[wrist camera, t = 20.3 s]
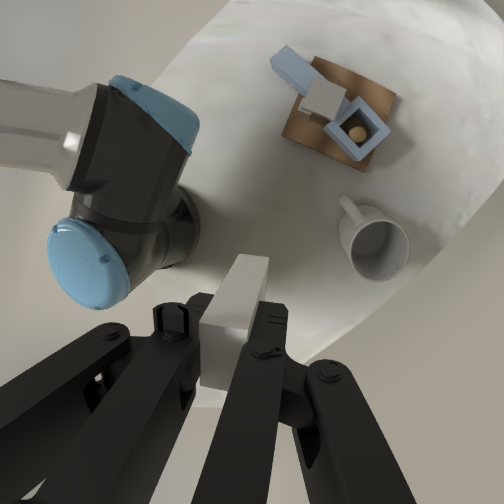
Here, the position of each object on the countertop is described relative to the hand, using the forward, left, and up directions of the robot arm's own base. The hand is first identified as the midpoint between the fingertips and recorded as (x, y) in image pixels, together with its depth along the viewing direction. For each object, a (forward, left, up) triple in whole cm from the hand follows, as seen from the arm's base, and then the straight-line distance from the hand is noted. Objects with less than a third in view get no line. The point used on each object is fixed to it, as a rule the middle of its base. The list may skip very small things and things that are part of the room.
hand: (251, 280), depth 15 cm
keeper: (0, +15, -31) cm, 34 cm away
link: (0, +16, -31) cm, 35 cm away
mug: (+12, +1, -33) cm, 35 cm away
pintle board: (+3, +16, -32) cm, 36 cm away
